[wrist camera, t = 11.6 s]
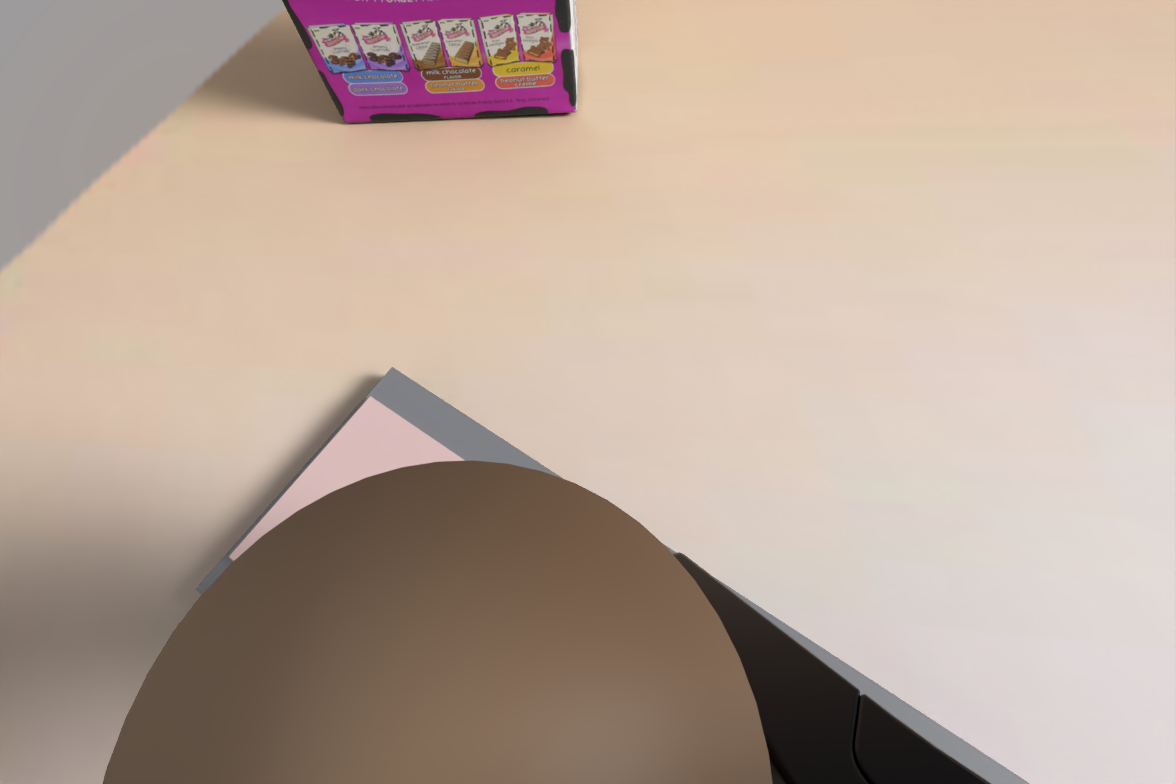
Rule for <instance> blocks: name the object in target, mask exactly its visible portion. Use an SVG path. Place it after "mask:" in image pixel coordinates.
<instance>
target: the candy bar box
mask: <svg viewBox="0 0 1176 784" xmlns="http://www.w3.org/2000/svg"><path fill="white" fill-rule="evenodd" d="M282 1H283V3H284V5H285V7H286V9H287V11H288V13H289V15H290V17H291V19H292V21H293V23H294V25H295V27H296V29H297V31H298V33H299V35H300V37H301V38H302V40H303V42H304V44H305V46H306V48H307V50H308V52H309V54H310V56H311V58H312V60H313V62H314V64H315V66H316V68H317V70H318V72H319V74H320V76H321V78H322V80H323V82H324V84H325V86H326V88H327V90H328V92H329V94H330V96H331V98H332V100H333V102H334V103H335V105H336V107H337V109H338V111H339V113H340V115H341V117H342V118H343V120H344V121H345V122H349V123H365V122H390V121H410V120H432V119H453V118H472V117H493V116H510V115H531V114H551V113H570V112H576V111H577V71H578V29H577V17H576V3H575V0H282Z"/></svg>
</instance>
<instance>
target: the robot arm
mask: <svg viewBox="0 0 1176 784" xmlns="http://www.w3.org/2000/svg"><path fill="white" fill-rule="evenodd" d="M672 554H673V555H674V556H675V557H676V559H677V560H678V561H679V562H680V563H681V565H682V566H683V567H684V568H685V569H686V570H687V572H688V573H689V574H690V575H691V576H692V577H693V579H694V580H695V581H696V583H697V584H698V586H699V587H700V589H701V590H702V592H703V593H704V595H705V596H706V598H707V599H708V601H709V602H710V604H711V605H712V607H713V608H714V610H715V611H716V613H717V614H718V616H719V618H720V620H721V622H722V624H723V626H724V628H725V629H726V631H727V633H728V635H729V637H730V639H731V641H732V643H733V645H734V647H735V649H736V651H737V653H738V655H739V657H740V660H741V663H742V665H743V668H744V671H745V673H746V676H747V679H748V682H749V684H750V687H751V690H752V692H753V695H754V698H755V701H756V704H757V708H758V712H759V716H760V720H761V724H762V728H763V732H764V736H765V740H766V744H767V748H768V752H769V760H770V768H771V775H772V783H773V784H992V783H990V782H989V781H987V780H986V779H984V778H983V777H981V776H980V775H978V774H977V773H975V772H974V771H972V770H971V769H969V768H968V767H966V766H965V765H963V764H962V763H960V762H959V761H957V760H956V759H954V758H953V757H951V756H950V755H948V754H947V753H945V752H944V751H942V750H941V749H939V748H938V747H936V746H935V745H934V744H932V743H931V742H929V741H928V740H927V739H925V738H924V737H923V736H921V735H920V734H919V733H917V732H916V731H914V730H913V729H912V728H910V727H909V726H908V725H906V724H905V723H904V722H902V721H901V720H899V719H898V718H897V717H895V716H894V715H893V714H891V713H890V712H889V711H887V710H886V709H885V708H883V707H882V706H881V705H880V704H878V703H877V702H876V701H874V700H873V699H872V698H870V697H869V696H868V695H866V694H862V695H861V692H860V690H859V689H858V688H857V687H856V686H854V685H853V684H852V683H851V682H849V681H848V680H847V679H845V678H844V677H843V676H841V675H840V674H839V673H837V672H836V671H835V670H834V669H832V668H831V667H830V666H828V665H827V664H826V663H824V662H823V661H822V660H821V659H819V658H818V657H817V656H815V655H814V654H813V653H811V652H810V651H809V650H808V649H806V648H805V647H804V646H802V645H801V644H800V643H798V642H797V641H796V640H795V639H793V638H792V637H791V636H789V635H788V634H787V633H785V632H784V631H783V630H782V629H780V628H779V627H778V626H776V625H775V624H774V623H772V622H771V621H770V620H769V619H767V618H766V617H765V616H763V615H762V614H761V613H759V612H758V611H757V610H756V609H754V608H753V607H752V606H750V605H749V604H748V603H746V602H745V601H744V600H743V599H741V598H740V597H739V596H737V595H736V594H735V593H733V592H732V591H731V590H730V589H728V588H727V587H726V586H724V585H723V584H722V583H720V582H719V581H718V580H717V579H715V578H714V577H713V576H711V575H710V574H709V573H707V572H706V571H705V570H704V569H702V568H701V567H700V566H698V565H697V564H696V563H694V562H693V561H692V560H691V559H689V558H688V557H687V556H685V555H684V554H682V553H672Z"/></svg>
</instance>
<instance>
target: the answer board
mask: <svg viewBox="0 0 1176 784" xmlns="http://www.w3.org/2000/svg"><path fill="white" fill-rule="evenodd" d="M469 460H474V461H485V462H496V463H507V464H512V465H516V466H521V467H525V468H530V469H534V470H538V471H543V472H545V473H548V474H551V475H553V476H556V477H559V478H561V477H560V476H558V475H557V474H555V473H554V472H552V471H551V470H549V469H548V468H546V467H544V466H543V465H541V464H540V463H538V462H537V461H535V460H534V459H532V458H531V457H529V456H528V455H526V454H525V453H523V452H522V451H520V450H518V449H517V448H515V447H514V446H512V445H511V444H509V443H508V442H506V441H505V440H503V439H502V438H500V437H499V436H497V435H495V434H494V433H492V432H491V431H489V430H488V429H486V428H485V427H483V426H482V425H480V424H479V423H477V422H476V421H474V420H473V419H471V418H469V417H468V416H466V415H465V414H463V413H462V412H460V411H459V410H457V409H456V408H454V407H453V406H451V405H450V404H448V403H447V402H445V401H443V400H442V399H440V398H439V397H437V396H436V395H434V394H433V393H431V392H430V391H428V390H427V389H425V388H424V387H422V386H420V385H419V384H417V383H416V382H414V381H413V380H411V379H410V378H408V377H407V376H405V375H404V374H402V373H401V372H399V371H398V370H396V369H394V368H393V367H392V368H391V369H390V370H389V371H388V372H387V374H386V375H385V376H384V377H383V378H382V379H381V380H380V381H379V383H378V384H377V385H376V386H375V387H374V388H373V389H372V391H371V392H370V393H369V394H368V395H367V396H366V397H365V398H364V400H363V401H362V402H361V403H360V404H359V405H358V406H357V407H356V409H355V410H354V411H353V412H352V413H351V414H350V415H349V417H348V418H347V419H346V420H345V421H344V422H343V423H342V424H341V426H340V427H339V428H338V429H337V430H336V431H335V432H334V433H333V435H332V436H331V437H330V438H329V439H328V440H327V441H326V443H325V444H324V445H323V446H322V447H321V448H320V449H319V450H318V452H317V453H316V454H315V455H314V456H313V457H312V458H311V459H310V461H309V462H308V463H307V464H306V465H305V466H304V467H303V469H302V470H301V471H300V472H299V473H298V474H297V475H296V476H295V478H294V479H293V480H292V481H291V482H290V483H289V484H288V485H287V487H286V488H285V489H284V490H283V491H282V492H281V493H280V495H279V496H278V497H277V498H276V499H275V500H274V501H273V502H272V504H271V505H270V506H269V507H268V508H267V509H266V510H265V512H264V513H263V514H262V515H261V516H260V517H259V518H258V519H257V521H256V522H255V523H254V524H253V525H252V526H251V527H250V528H249V530H248V531H247V532H246V533H245V534H244V535H243V536H242V538H241V539H240V540H239V541H238V542H237V543H236V544H235V545H234V547H233V548H232V549H231V550H230V551H229V552H228V553H227V554H226V556H225V557H224V558H223V559H222V560H221V561H220V562H219V564H218V565H217V566H216V567H215V568H214V569H213V570H212V571H211V573H210V574H209V575H208V576H207V577H206V578H205V579H204V580H203V582H202V583H201V584H200V585H199V586H198V587H197V588H196V590H197V591H198V592H200V593H201V594H203V593H204V592H205V591H206V590H207V589H208V588H209V587H210V586H211V585H212V584H213V582H214V581H215V580H216V579H217V578H218V577H219V576H220V575H221V574H222V573H223V572H224V571H225V570H226V568H227V567H228V566H229V565H230V564H231V563H232V562H233V561H234V560H236V559H237V558H238V557H239V556H240V555H241V554H242V553H244V552H245V551H246V550H247V549H248V548H249V547H250V546H252V545H253V544H254V543H255V542H256V541H257V540H258V539H260V538H261V537H262V536H263V535H264V534H266V533H267V532H268V531H270V530H271V529H273V528H274V527H275V526H277V525H278V524H280V523H281V522H283V521H284V520H285V519H287V518H288V517H290V516H291V515H292V514H294V513H295V512H297V511H298V510H300V509H302V508H304V507H306V506H307V505H309V504H311V503H313V502H315V501H316V500H318V499H320V498H322V497H324V496H325V495H327V494H329V493H331V492H333V491H335V490H338V489H340V488H342V487H345V486H347V485H350V484H352V483H354V482H357V481H359V480H362V479H364V478H366V477H370V476H373V475H377V474H380V473H384V472H387V471H391V470H394V469H398V468H401V467H407V466H413V465H419V464H426V463H432V462H441V461H469ZM562 479H563V478H562ZM663 545H664V544H663ZM664 546H665V545H664ZM666 547H667V546H666ZM667 548H668V547H667ZM668 549H669V550H670V552H671V553H676V552H675V551H673V550H671V549H670V548H668ZM715 579H716V578H715ZM718 581H719V580H718ZM719 582H720V581H719ZM720 583H722V582H720ZM722 584H723V585H724V586H726V587H727V588H728V589H730V590H731V591H732V592H733V593H735V594H736V595H737V596H739V597H740V598H741V599H743V600H744V601H745V602H746V603H748V604H749V605H750V606H752V607H753V608H754V609H756V610H757V611H758V612H759V613H761V614H762V615H763V616H765V617H766V618H767V619H769V620H770V621H771V622H772V623H774V624H775V625H776V626H778V627H779V628H780V629H782V630H783V631H784V632H785V633H787V634H788V635H789V636H791V637H792V638H793V639H795V640H796V641H797V642H798V643H800V644H801V645H802V646H804V647H805V648H806V649H808V650H809V651H810V652H811V653H813V654H814V655H815V656H817V657H818V658H819V659H821V660H822V661H823V662H824V663H826V664H827V665H828V666H830V667H831V668H832V669H834V670H835V671H836V672H837V673H839V674H840V675H841V676H843V677H844V678H845V679H847V680H848V681H849V682H851V683H852V684H853V685H854V686H856V687H857V688H858V689H859V690H860V692H861V695H862V694H866V695H868V696H869V697H870V698H872V699H873V700H874V701H876V702H877V703H878V704H880V705H881V706H882V707H883V708H885V709H886V710H887V711H889V712H890V713H891V714H893V715H894V716H895V717H897V718H898V719H899V720H901V721H902V722H904V723H905V724H906V725H908V726H909V727H910V728H912V729H913V730H914V731H916V732H917V733H919V734H920V735H921V736H923V737H924V738H925V739H927V740H928V741H929V742H931V743H932V744H934V745H935V746H936V747H938V748H939V749H941V750H942V751H944V752H945V753H947V754H948V755H950V756H951V757H953V758H954V759H956V760H957V761H959V762H960V763H962V764H963V765H965V766H966V767H968V768H969V769H971V770H972V771H974V772H975V773H977V774H978V775H980V776H981V777H983V778H984V779H986V780H987V781H989V782H990V783H992V784H1029V783H1028V782H1027V781H1025V780H1024V779H1022V778H1020V777H1019V776H1017V775H1016V774H1014V773H1013V772H1011V771H1010V770H1008V769H1007V768H1005V767H1004V766H1002V765H1001V764H999V763H997V762H996V761H994V760H993V759H991V758H990V757H988V756H987V755H985V754H984V753H982V752H981V751H979V750H978V749H976V748H975V747H973V746H971V745H970V744H968V743H967V742H965V741H964V740H962V739H961V738H959V737H958V736H956V735H955V734H953V733H952V732H950V731H949V730H947V729H945V728H944V727H942V726H941V725H939V724H938V723H936V722H935V721H933V720H932V719H930V718H929V717H927V716H926V715H924V714H922V713H921V712H919V711H918V710H916V709H915V708H913V707H912V706H910V705H909V704H907V703H906V702H904V701H903V700H901V699H900V698H898V697H896V696H895V695H893V694H892V693H890V692H889V691H887V690H886V689H884V688H883V687H881V686H880V685H878V684H877V683H875V682H874V681H872V680H870V679H869V678H867V677H866V676H864V675H863V674H861V673H860V672H858V671H857V670H855V669H854V668H852V667H851V666H849V665H848V664H846V663H844V662H843V661H841V660H840V659H838V658H837V657H835V656H834V655H832V654H831V653H829V652H828V651H826V650H825V649H823V648H821V647H820V646H818V645H817V644H815V643H814V642H812V641H811V640H809V639H808V638H806V637H805V636H803V635H802V634H800V633H799V632H797V631H795V630H794V629H792V628H791V627H789V626H788V625H786V624H785V623H783V622H782V621H780V620H779V619H777V618H776V617H774V616H773V615H771V614H769V613H768V612H766V611H765V610H763V609H762V608H760V607H759V606H757V605H756V604H754V603H753V602H751V601H750V600H748V599H746V598H745V597H743V596H742V595H740V594H739V593H737V592H736V591H734V590H733V589H731V588H730V587H728V586H727V585H725V584H724V583H722Z"/></svg>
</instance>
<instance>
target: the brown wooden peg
mask: <svg viewBox="0 0 1176 784" xmlns="http://www.w3.org/2000/svg"><path fill="white" fill-rule="evenodd" d="M103 784H773V783H772V775H771V768H770V760H769V752H768V748H767V744H766V740H765V736H764V732H763V728H762V724H761V720H760V716H759V712H758V708H757V704H756V701H755V698H754V695H753V692H752V690H751V687H750V684H749V682H748V679H747V676H746V673H745V671H744V668H743V665H742V663H741V660H740V657H739V655H738V653H737V651H736V649H735V647H734V645H733V643H732V641H731V639H730V637H729V635H728V633H727V631H726V629H725V628H724V626H723V624H722V622H721V620H720V618H719V616H718V614H717V613H716V611H715V610H714V608H713V607H712V605H711V604H710V602H709V601H708V599H707V598H706V596H705V595H704V593H703V592H702V590H701V589H700V587H699V586H698V584H697V583H696V581H695V580H694V579H693V577H692V576H691V575H690V574H689V573H688V572H687V570H686V569H685V568H684V567H683V566H682V565H681V563H680V562H679V561H678V560H677V559H676V557H675V556H674V555H673V554H672V553H671V552H670V550H669V549H668V548H667V547H666V546H664V545H663V544H662V543H661V542H660V541H659V540H658V539H657V538H656V537H655V536H653V535H652V534H651V533H650V532H649V531H648V530H647V529H646V528H645V527H644V526H643V525H641V524H640V523H639V522H638V521H636V520H635V519H634V518H632V517H631V516H629V515H628V514H626V513H625V512H624V511H622V510H621V509H619V508H618V507H616V506H615V505H614V504H612V503H611V502H609V501H608V500H606V499H604V498H602V497H600V496H598V495H596V494H594V493H593V492H591V491H589V490H587V489H585V488H583V487H581V486H579V485H577V484H575V483H573V482H570V481H567V480H564V479H562V478H559V477H556V476H553V475H551V474H548V473H545V472H543V471H538V470H534V469H530V468H525V467H521V466H516V465H512V464H507V463H496V462H485V461H474V460H469V461H441V462H432V463H426V464H419V465H413V466H407V467H401V468H398V469H394V470H391V471H387V472H384V473H380V474H377V475H373V476H370V477H366V478H364V479H362V480H359V481H357V482H354V483H352V484H350V485H347V486H345V487H342V488H340V489H338V490H335V491H333V492H331V493H329V494H327V495H325V496H324V497H322V498H320V499H318V500H316V501H315V502H313V503H311V504H309V505H307V506H306V507H304V508H302V509H300V510H298V511H297V512H295V513H294V514H292V515H291V516H290V517H288V518H287V519H285V520H284V521H283V522H281V523H280V524H278V525H277V526H275V527H274V528H273V529H271V530H270V531H268V532H267V533H266V534H264V535H263V536H262V537H261V538H260V539H258V540H257V541H256V542H255V543H254V544H253V545H252V546H250V547H249V548H248V549H247V550H246V551H245V552H244V553H242V554H241V555H240V556H239V557H238V558H237V559H236V560H234V561H233V562H232V563H231V564H230V565H229V566H228V567H227V568H226V570H225V571H224V572H223V573H222V574H221V575H220V576H219V577H218V578H217V579H216V580H215V581H214V582H213V584H212V585H211V586H210V587H209V588H208V589H207V590H206V591H205V592H204V593H203V594H202V595H201V597H200V598H199V599H198V601H197V602H196V603H195V605H194V606H193V607H192V608H191V610H190V611H189V612H188V614H187V615H186V616H185V618H184V619H183V620H182V622H181V623H180V624H179V625H178V627H177V628H176V629H175V631H174V632H173V634H172V635H171V637H170V638H169V640H168V642H167V643H166V645H165V647H164V648H163V650H162V651H161V653H160V655H159V656H158V658H157V659H156V661H155V663H154V664H153V666H152V668H151V669H150V671H149V672H148V674H147V676H146V678H145V680H144V682H143V684H142V686H141V688H140V690H139V692H138V694H137V696H136V699H135V701H134V703H133V705H132V707H131V709H130V711H129V713H128V715H127V717H126V719H125V722H124V724H123V727H122V729H121V732H120V735H119V737H118V740H117V743H116V745H115V748H114V751H113V753H112V756H111V759H110V761H109V764H108V766H107V770H106V774H105V777H104V781H103Z"/></svg>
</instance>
